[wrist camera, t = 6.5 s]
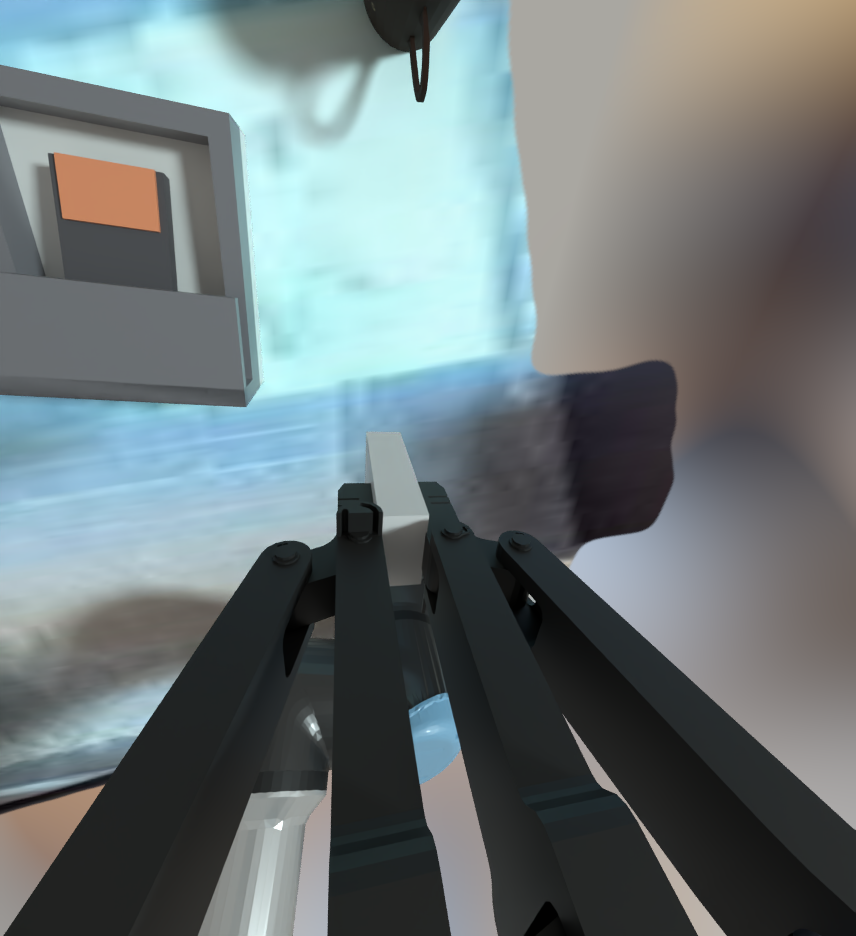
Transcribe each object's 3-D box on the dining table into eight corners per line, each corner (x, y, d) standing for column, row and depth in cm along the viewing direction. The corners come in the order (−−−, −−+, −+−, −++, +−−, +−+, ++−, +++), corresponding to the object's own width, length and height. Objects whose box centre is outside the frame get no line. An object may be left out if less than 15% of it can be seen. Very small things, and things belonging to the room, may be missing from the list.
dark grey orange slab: (182, 346, 31) (175, 345, 30) (81, 338, 29) (71, 336, 28) (169, 179, 28) (161, 170, 27) (57, 160, 27) (44, 150, 26)
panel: (263, 381, 39) (246, 407, 32) (69, 368, 35) (-1, 394, 28) (245, 135, 30) (214, 94, 23) (-18, 81, 26) (-153, 13, 19)
